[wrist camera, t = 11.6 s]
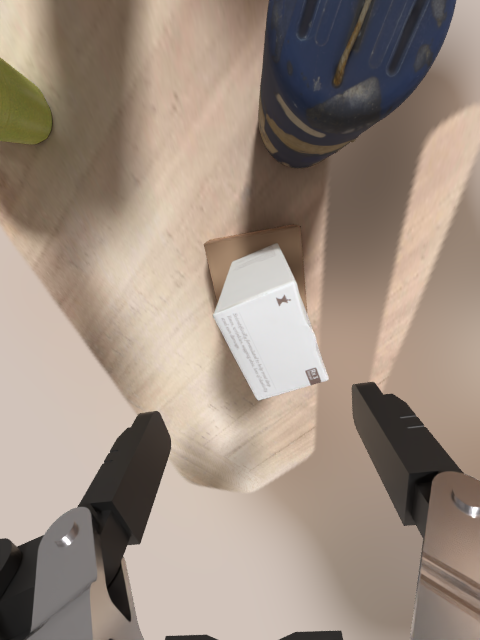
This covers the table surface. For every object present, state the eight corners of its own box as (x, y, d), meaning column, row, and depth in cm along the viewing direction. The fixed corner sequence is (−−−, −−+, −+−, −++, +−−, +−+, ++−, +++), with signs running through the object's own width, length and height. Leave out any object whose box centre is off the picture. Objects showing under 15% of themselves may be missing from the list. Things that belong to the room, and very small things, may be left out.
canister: (363, 103, 27) (551, -74, 10) (308, 188, 30) (380, 159, 13) (291, 40, 25) (375, -300, 8) (240, 137, 28) (229, 33, 12)
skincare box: (231, 261, 29) (202, 309, 16) (280, 240, 28) (294, 274, 14) (257, 321, 32) (252, 405, 19) (303, 305, 31) (333, 385, 17)
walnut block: (209, 239, 33) (203, 244, 28) (293, 224, 32) (300, 226, 27) (226, 315, 37) (223, 329, 33) (299, 303, 36) (307, 316, 32)
